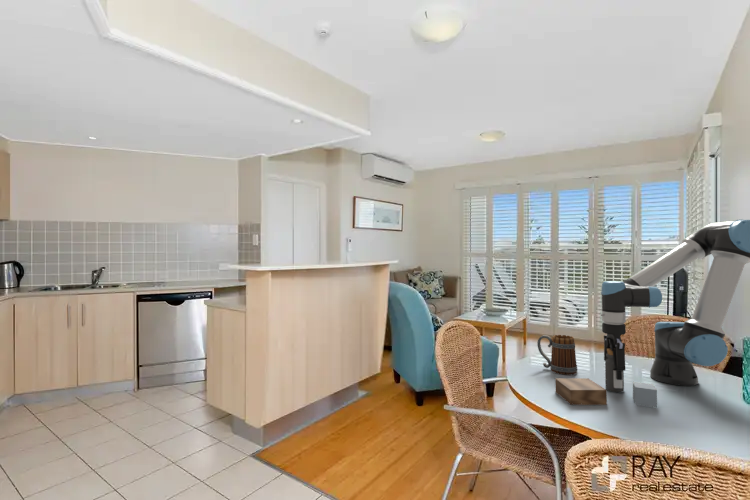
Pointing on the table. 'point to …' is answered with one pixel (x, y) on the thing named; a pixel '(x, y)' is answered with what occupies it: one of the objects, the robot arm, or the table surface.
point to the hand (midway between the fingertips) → (614, 384)
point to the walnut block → (581, 391)
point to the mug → (560, 354)
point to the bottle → (611, 373)
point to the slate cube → (645, 394)
